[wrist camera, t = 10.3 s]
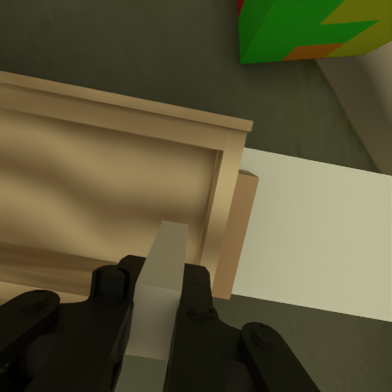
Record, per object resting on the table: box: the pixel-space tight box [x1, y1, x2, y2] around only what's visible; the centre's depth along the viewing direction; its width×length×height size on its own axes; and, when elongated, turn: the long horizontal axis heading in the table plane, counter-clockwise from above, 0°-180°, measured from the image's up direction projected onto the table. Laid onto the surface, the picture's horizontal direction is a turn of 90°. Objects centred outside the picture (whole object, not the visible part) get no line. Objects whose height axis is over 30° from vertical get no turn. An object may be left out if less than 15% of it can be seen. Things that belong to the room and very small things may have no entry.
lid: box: [211, 147, 392, 322], centre depth 22 cm, size 14×19×5 cm
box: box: [0, 71, 253, 306], centre depth 20 cm, size 16×22×7 cm
